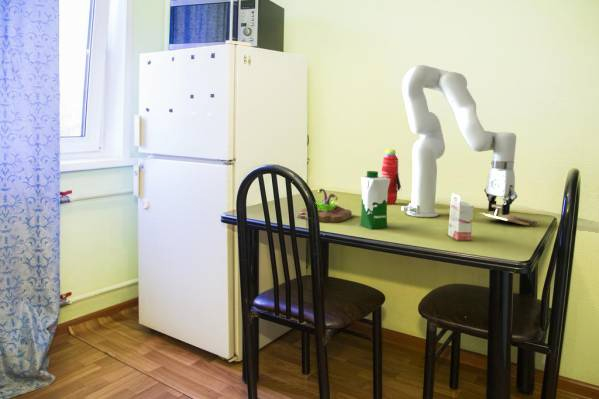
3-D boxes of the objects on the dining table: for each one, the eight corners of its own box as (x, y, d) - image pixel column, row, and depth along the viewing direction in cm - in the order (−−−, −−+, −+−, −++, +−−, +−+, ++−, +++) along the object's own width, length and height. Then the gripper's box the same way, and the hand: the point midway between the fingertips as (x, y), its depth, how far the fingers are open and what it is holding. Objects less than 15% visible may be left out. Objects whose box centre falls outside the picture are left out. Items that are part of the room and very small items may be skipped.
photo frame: (507, 221, 183) (510, 207, 183) (479, 214, 196) (482, 201, 195) (528, 225, 188) (532, 212, 188) (500, 218, 201) (503, 206, 200)
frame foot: (532, 226, 188) (533, 221, 188) (502, 218, 202) (502, 214, 201) (537, 225, 189) (537, 221, 189) (506, 218, 203) (506, 213, 202)
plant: (315, 210, 214) (316, 184, 212) (357, 215, 204) (358, 188, 202) (291, 218, 197) (291, 189, 195) (335, 224, 187) (336, 194, 185)
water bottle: (406, 205, 229) (409, 150, 225) (394, 206, 224) (396, 150, 220) (387, 201, 239) (389, 148, 234) (375, 202, 234) (377, 149, 230)
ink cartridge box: (471, 240, 165) (475, 196, 162) (457, 241, 164) (460, 196, 162) (461, 234, 173) (464, 192, 171) (447, 234, 173) (450, 192, 170)
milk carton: (376, 223, 190) (378, 170, 187) (391, 227, 182) (393, 173, 179) (356, 225, 186) (358, 171, 183) (371, 230, 178) (373, 174, 175)
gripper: (478, 163, 194) (474, 209, 197) (513, 168, 178) (508, 218, 181) (493, 163, 197) (489, 208, 200) (528, 168, 181) (523, 216, 184)
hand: (498, 212), depth 190 cm, fingers closed on photo frame, 6 cm apart
